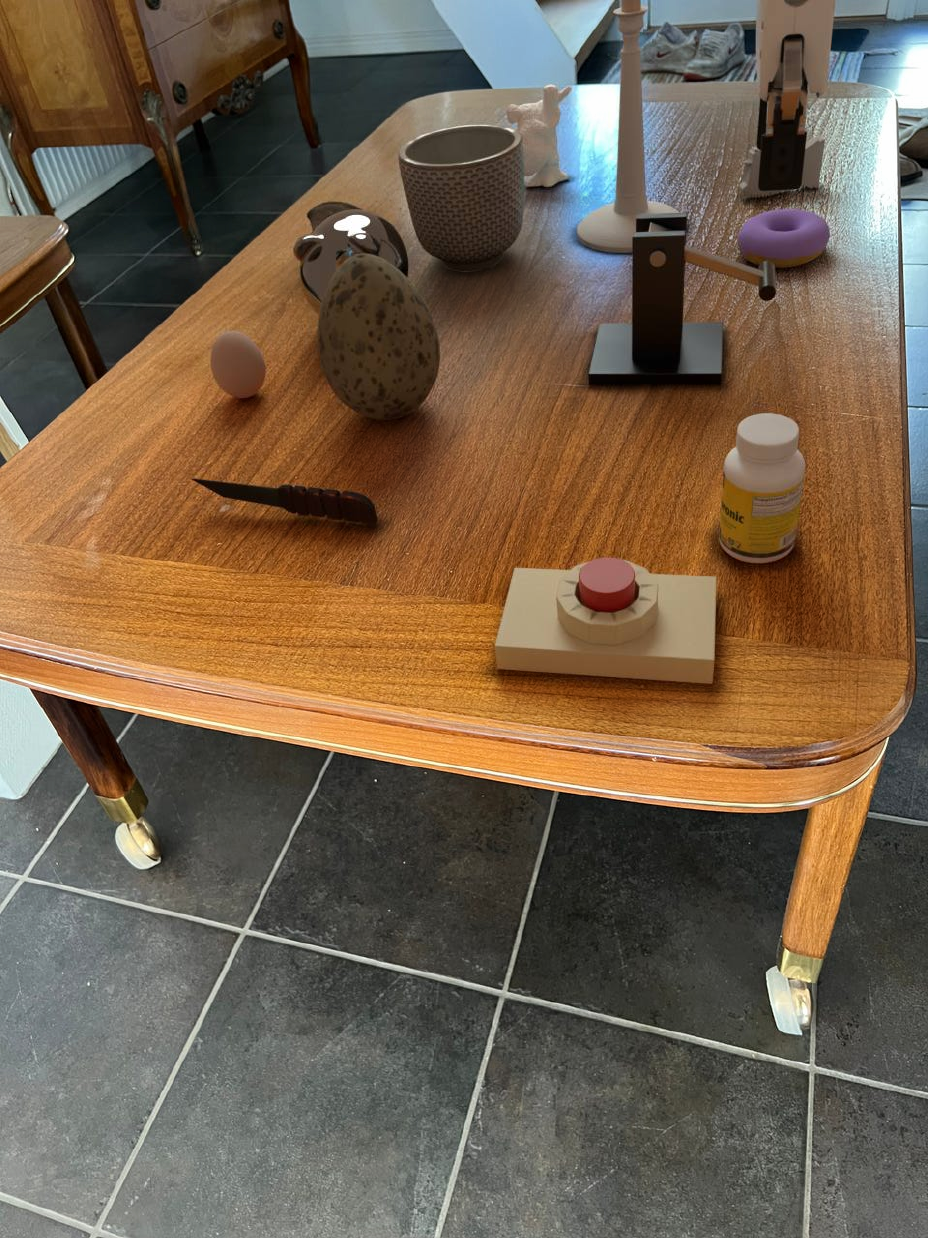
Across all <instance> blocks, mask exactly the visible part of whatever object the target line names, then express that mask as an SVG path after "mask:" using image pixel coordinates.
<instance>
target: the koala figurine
mask: <svg viewBox="0 0 928 1238" xmlns="http://www.w3.org/2000/svg"><path fill="white" fill-rule="evenodd" d="M572 89H573V88H572V86H571V85H567V86H566V87H564V88H563V89H562V90H560V88H559V87H558V86H556V84H555V85H554V84H551V83H550V84H547V85H546V86H544V87H542V99H541V100H539V101H537V102H532V103H523V104H521V105H519V106H518V105H516V104H515V103H512V104H509V105H508V106H507V107H506V119H507V122H508V123H509V124H512V125H513V124H516V125H517V129H516V131H518V132H519V133H520V134H521V136H522V140H523V145H524V177H530V178H528V179H527V180H526V181H525V182H524V185H525V186H526V187H528V188H530V187H531V188H533V187H540V186H543V187H545V188H549V187H550V188H551V187H553V186H554V185H555V184H557V183H559V182H562V181H563V182H564V181H566V180H569V179H570V176H569V175H568V174H567V173H566V172H564V171H562V170H561V169H560V162H561V159H560V155H559V149H558V135H557V127H558V125H559V123H560V120H561V116H562V111H561V108H560V105H559V104H560V103H562V101H563V100H564V99H565V98H567V96H569V94H570V93H571V91H572Z"/></svg>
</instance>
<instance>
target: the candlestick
mask: <svg viewBox="0 0 928 1238" xmlns="http://www.w3.org/2000/svg"><path fill="white" fill-rule="evenodd" d="M620 1H621V2H620V7H618V8H615V9H614V10H613V14H615V15H616V17H617V18H618V26H617V29H618V31H619V32H620V33H621V39H622V43H623V45H622V48H621V50H620V53H621V54H620V55H621V57H620V82H619V104H618V105H619V106H618V128H617V129H618V133H617V154H616V155H617V157H616V180H615V191H614V192H615V197H614V202H613V203H609V204H606V205H603V206H601V207H599V208H597V209H595V210H593V211H591V212H590V213H588V214H587V215H586V216H584V218H582V220H581V221H580V222H579V223H578V224H577V227H576V237H577V240H578V242H579V243H580V244H582V245H583V246H585V247H587V248H589V249H592V250H595V251H599V252H604V253H613V254H631V253H632V237H633V233H634V232H636V216H637V214H661V213H680V212H679V211H678V210H677V209H675V208H674V207H672V206H670V205H668V204H665V203H662V202H658V201H654V200H648V197H647V193H646V192H647V186H646V185H647V183H646V162H645V161H646V160H645V139H644V138H645V137H644V135H645V134H644V113H643V112H644V111H643V88H642V87H643V85H642V83H643V82H642V61H641V60H642V59H641V58H642V57H641V51H642V48H641V46H640V44H639V40H640V39H639V38H640V36H641V33H640V32H641V31H642V30H643V28H644V26H645V22H644V15H646V13H647V11H649V7H648V6H647V5H642V4H641V3H642V0H620Z"/></svg>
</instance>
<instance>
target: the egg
mask: <svg viewBox="0 0 928 1238" xmlns="http://www.w3.org/2000/svg"><path fill="white" fill-rule="evenodd" d="M210 369H211V373H212V376H213V379H214V381H215V382H216V384H217V386H218V387H219V388H220V390H222V391H223V392H224V393H226V394H227V395H229V396H232V397H233V398H237V399H248V398H251V397H253V396H255V395H256V394H257V393H258V392H259V391H260V389H261V388H262V386H263V384H264V382H265V379H266V373H267V372H266V370H267V369H266V362H265V359H264V357H263V354H262V352H261V350H260V348H259V347H258V346H257V344H256V343H255V342H254V341H253V340H252V338H250V337H249V336H248V335H246V334H245V333H243V332H241V331H237V330H226V331H224V332H222V333H220V334H219V335H218V337H216V339H215V341H214V342H213V344H212V346H211V352H210Z"/></svg>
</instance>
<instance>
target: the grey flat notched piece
mask: <svg viewBox="0 0 928 1238" xmlns="http://www.w3.org/2000/svg"><path fill="white" fill-rule="evenodd" d="M825 144H826V139H825V138H823V137H822V136H817V137H815V136H812V137H811V138H809V139H808V140H806V148H805V158H804V167H803V176H802V184H801V186H805V187H806V188H809V189H811V190H812V189H813V188H815V189H819V185H820V178H821V172H822V166H823V165H822V164H823V158H824V151H825ZM760 153H761V150H759V149H758V148H757V145H756V146H752V147H751V149H749V150H748V154H747V155H748V156H747V159H745V160H744V161H741V162H740V164H742V165H745V172H744V178H743V181H742V182H740V184H738V189H739V190H740V192H741V193H742V194H743V195H745V196H747V197H751V198H764V197H765V198H767V196H768V197H770V196H773V195H776V194H779V192H781V193H783V192H785V191H786V190H775V191H761V190H759V188H758V179H759V166H760Z"/></svg>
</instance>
